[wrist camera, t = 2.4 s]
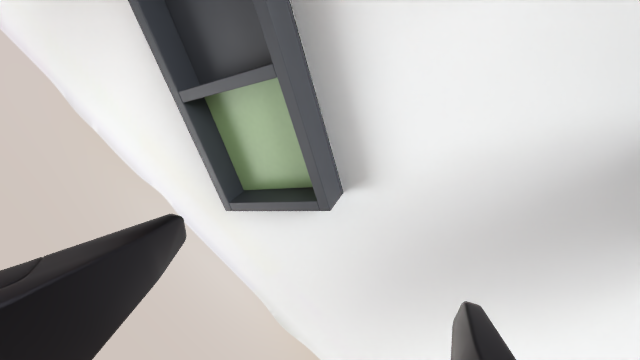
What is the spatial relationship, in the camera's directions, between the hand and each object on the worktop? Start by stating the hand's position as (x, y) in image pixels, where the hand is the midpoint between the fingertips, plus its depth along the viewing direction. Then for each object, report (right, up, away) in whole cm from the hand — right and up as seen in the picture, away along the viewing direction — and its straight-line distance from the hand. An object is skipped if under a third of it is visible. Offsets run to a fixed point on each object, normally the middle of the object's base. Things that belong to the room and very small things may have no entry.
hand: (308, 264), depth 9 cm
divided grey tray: (-5, +10, +12) cm, 16 cm away
